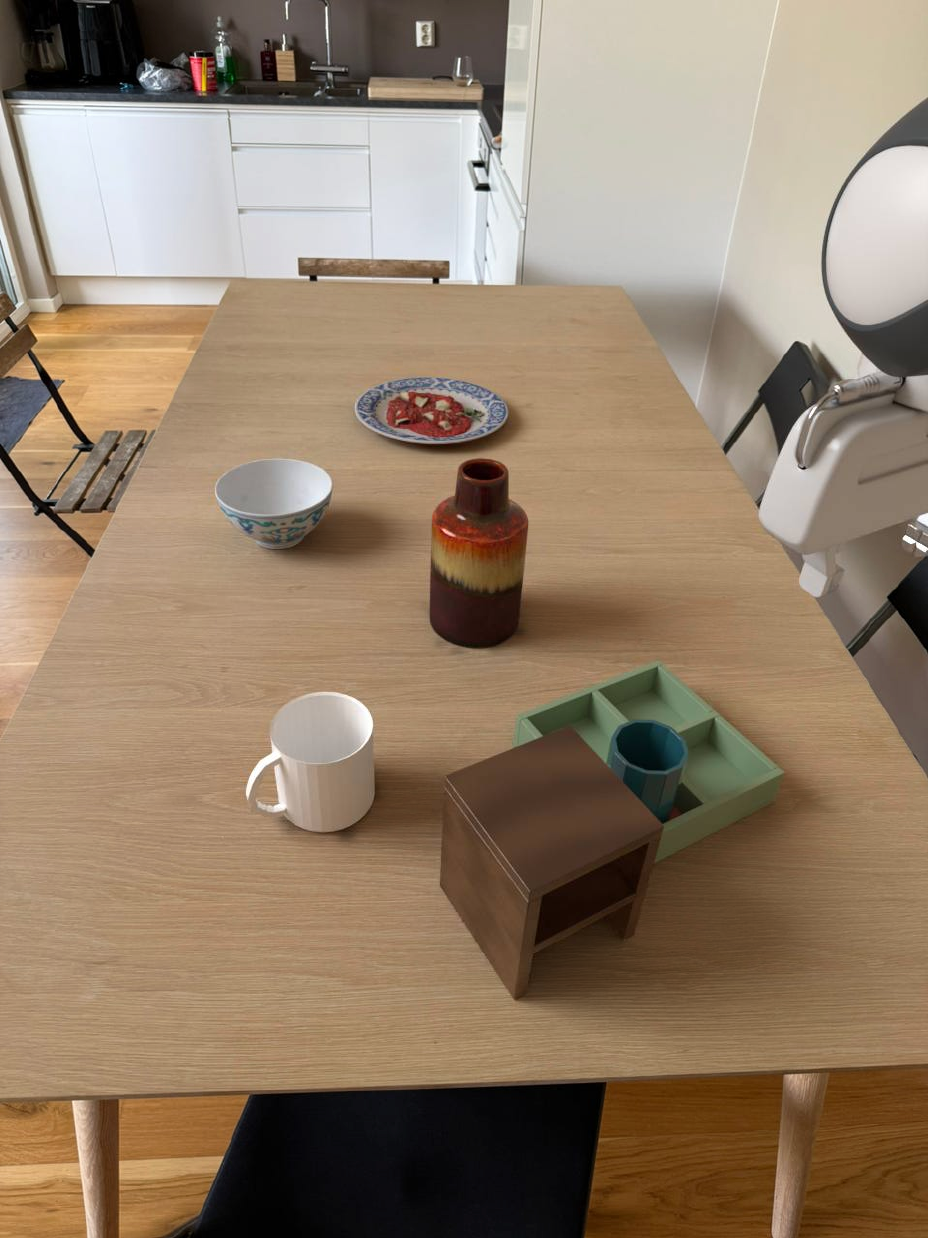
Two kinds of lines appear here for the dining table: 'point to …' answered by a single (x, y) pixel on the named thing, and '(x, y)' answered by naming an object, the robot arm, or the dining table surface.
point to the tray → (718, 753)
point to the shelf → (543, 849)
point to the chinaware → (275, 500)
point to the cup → (650, 763)
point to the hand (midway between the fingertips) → (868, 569)
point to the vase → (477, 558)
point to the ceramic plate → (431, 410)
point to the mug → (319, 762)
